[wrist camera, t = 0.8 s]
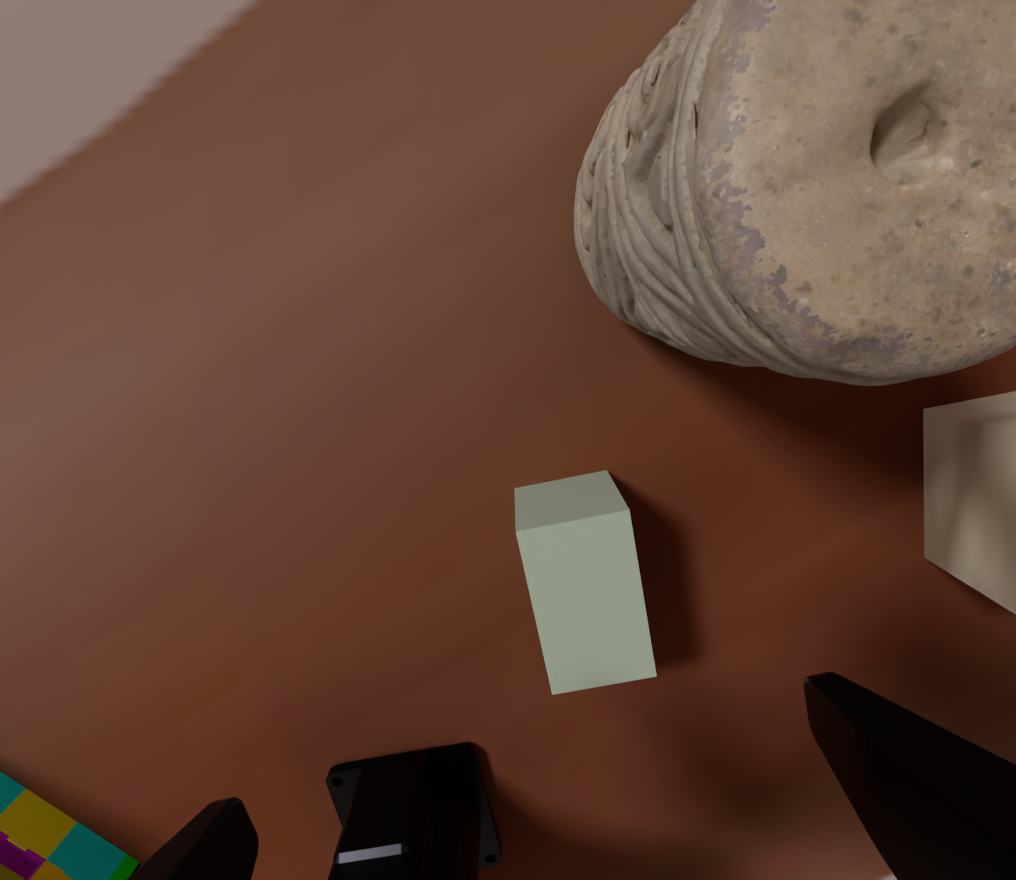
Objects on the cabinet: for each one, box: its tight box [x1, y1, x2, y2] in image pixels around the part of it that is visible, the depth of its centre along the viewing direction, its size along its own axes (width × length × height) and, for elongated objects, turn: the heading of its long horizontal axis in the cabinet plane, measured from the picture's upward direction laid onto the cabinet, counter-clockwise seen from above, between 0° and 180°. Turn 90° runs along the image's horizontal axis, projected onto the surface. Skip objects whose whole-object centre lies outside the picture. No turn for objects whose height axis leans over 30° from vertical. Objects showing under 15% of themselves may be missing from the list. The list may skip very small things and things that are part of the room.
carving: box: [574, 0, 1016, 386], centre depth 12 cm, size 6×8×12 cm
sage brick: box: [515, 470, 657, 695], centre depth 19 cm, size 6×4×4 cm, turn 12°
